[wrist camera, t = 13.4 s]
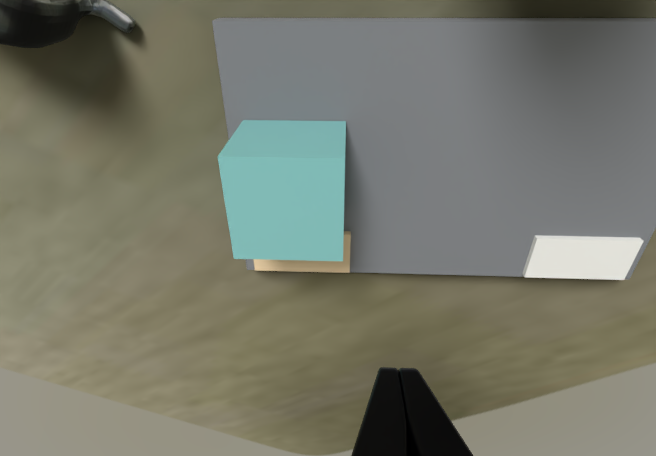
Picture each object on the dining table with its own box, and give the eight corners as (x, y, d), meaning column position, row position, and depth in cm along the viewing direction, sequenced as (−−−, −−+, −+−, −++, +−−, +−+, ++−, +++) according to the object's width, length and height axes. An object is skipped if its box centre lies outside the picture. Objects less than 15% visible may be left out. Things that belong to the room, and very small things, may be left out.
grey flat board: (738, 18, 16) (768, 22, 14) (618, 267, 22) (632, 283, 21) (219, 18, 16) (209, 21, 15) (250, 258, 23) (245, 273, 22)
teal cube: (346, 121, 17) (345, 158, 14) (344, 210, 20) (343, 261, 16) (242, 120, 17) (217, 156, 14) (253, 209, 20) (233, 258, 16)
